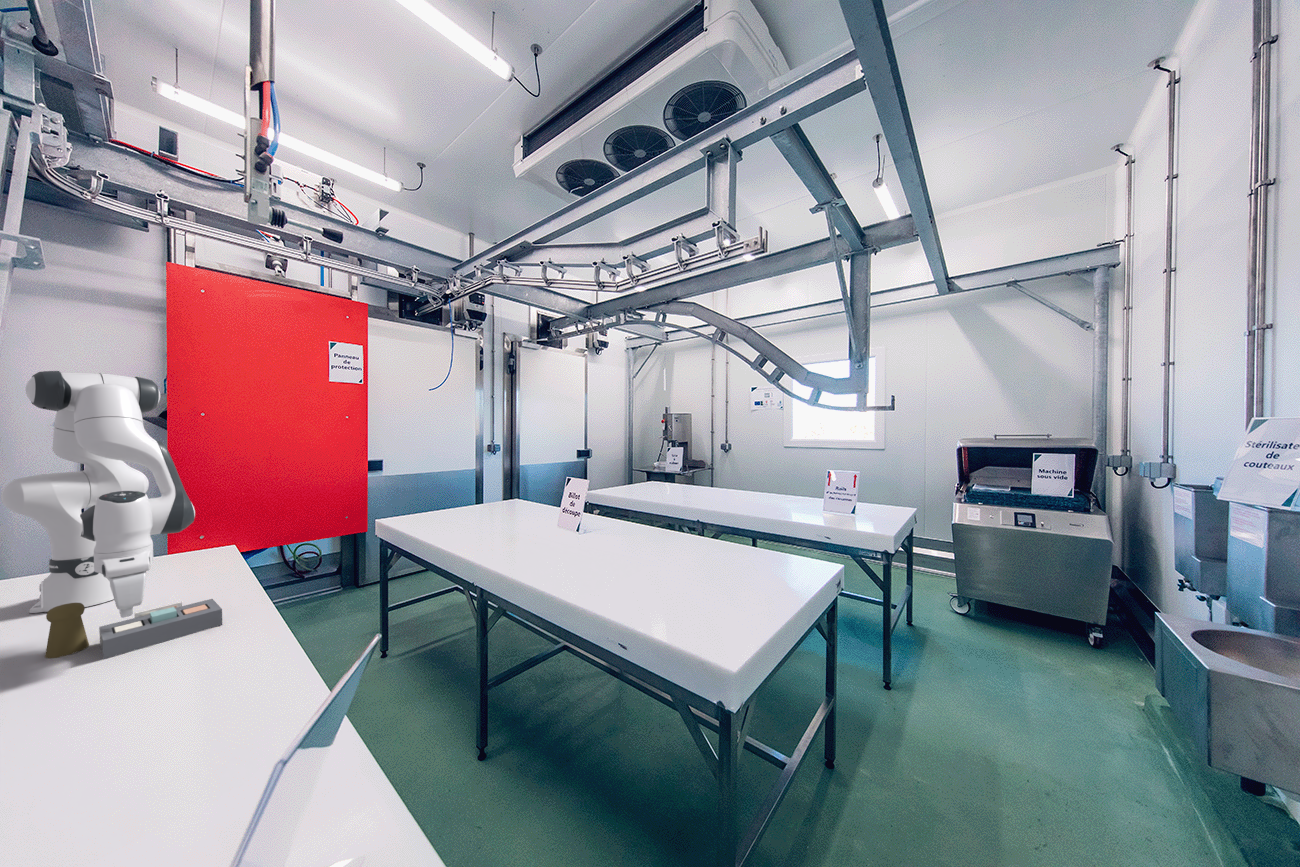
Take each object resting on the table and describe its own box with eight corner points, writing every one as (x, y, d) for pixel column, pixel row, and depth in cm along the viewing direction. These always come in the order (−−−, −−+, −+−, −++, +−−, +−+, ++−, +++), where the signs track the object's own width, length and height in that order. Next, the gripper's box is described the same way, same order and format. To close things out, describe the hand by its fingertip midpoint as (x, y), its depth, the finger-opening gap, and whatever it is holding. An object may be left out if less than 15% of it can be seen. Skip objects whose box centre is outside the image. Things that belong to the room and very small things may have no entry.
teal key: (150, 624, 103) (149, 612, 103) (174, 617, 107) (173, 606, 107) (152, 628, 101) (152, 617, 101) (177, 622, 105) (176, 610, 104)
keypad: (99, 641, 100) (98, 621, 100) (211, 611, 116) (210, 594, 116) (103, 659, 93) (102, 637, 93) (222, 624, 109) (221, 606, 109)
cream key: (114, 639, 99) (114, 627, 99) (140, 632, 102) (140, 620, 102) (116, 644, 97) (115, 632, 97) (143, 637, 100) (142, 625, 100)
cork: (55, 659, 93) (53, 612, 92) (37, 656, 94) (35, 609, 94) (96, 645, 99) (94, 600, 98) (78, 642, 100) (76, 598, 100)
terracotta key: (183, 621, 108) (182, 610, 108) (205, 615, 111) (204, 604, 111) (185, 625, 106) (185, 614, 106) (208, 619, 109) (208, 608, 109)
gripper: (99, 553, 102) (101, 607, 103) (106, 573, 91) (108, 634, 91) (140, 547, 107) (141, 598, 108) (151, 565, 96) (152, 622, 96)
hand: (126, 615), depth 99 cm, fingers closed
